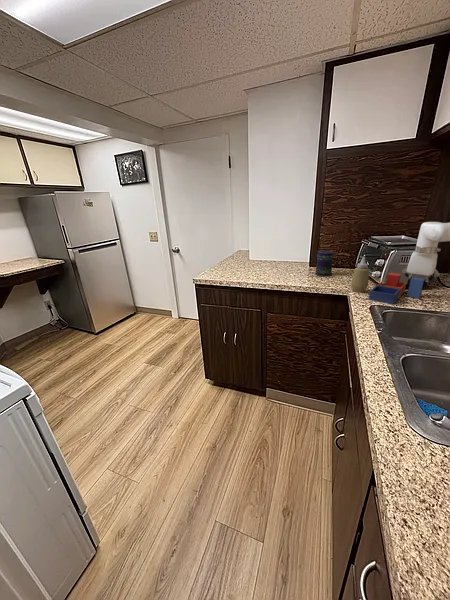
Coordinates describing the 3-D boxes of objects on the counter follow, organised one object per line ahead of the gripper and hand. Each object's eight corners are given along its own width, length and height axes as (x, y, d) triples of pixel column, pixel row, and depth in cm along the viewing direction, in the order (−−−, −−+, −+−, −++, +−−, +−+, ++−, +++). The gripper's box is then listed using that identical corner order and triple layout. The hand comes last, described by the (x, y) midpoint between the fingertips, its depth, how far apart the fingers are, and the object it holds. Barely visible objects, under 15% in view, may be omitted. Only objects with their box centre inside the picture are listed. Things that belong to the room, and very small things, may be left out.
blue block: (420, 295, 121) (425, 278, 118) (419, 298, 118) (423, 280, 115) (409, 293, 124) (413, 276, 121) (407, 296, 121) (411, 278, 118)
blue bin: (398, 298, 120) (400, 289, 118) (393, 304, 113) (395, 295, 111) (375, 293, 126) (376, 285, 125) (368, 299, 120) (370, 290, 118)
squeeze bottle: (349, 287, 136) (353, 255, 130) (365, 288, 134) (371, 255, 127) (351, 292, 129) (356, 258, 123) (368, 293, 127) (374, 258, 120)
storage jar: (319, 271, 169) (321, 249, 164) (333, 273, 163) (336, 251, 157) (312, 274, 163) (314, 252, 157) (327, 277, 156) (329, 253, 151)
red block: (397, 290, 127) (401, 273, 124) (395, 293, 124) (398, 276, 121) (386, 288, 131) (390, 272, 127) (384, 291, 128) (387, 274, 124)
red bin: (404, 291, 128) (406, 282, 126) (399, 296, 121) (401, 288, 119) (382, 287, 134) (383, 279, 133) (376, 292, 128) (378, 284, 126)
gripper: (450, 250, 110) (439, 289, 116) (405, 247, 121) (397, 282, 128) (448, 253, 105) (437, 293, 111) (401, 249, 116) (393, 286, 123)
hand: (416, 287), depth 119 cm, fingers closed on blue block, 4 cm apart
